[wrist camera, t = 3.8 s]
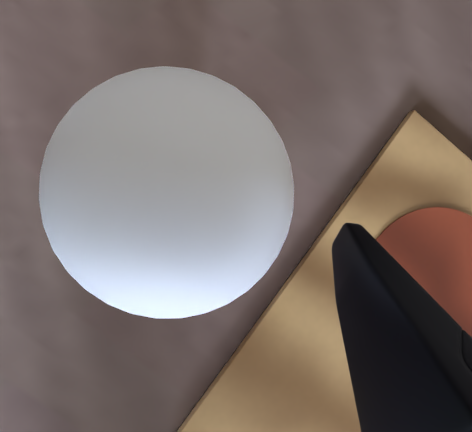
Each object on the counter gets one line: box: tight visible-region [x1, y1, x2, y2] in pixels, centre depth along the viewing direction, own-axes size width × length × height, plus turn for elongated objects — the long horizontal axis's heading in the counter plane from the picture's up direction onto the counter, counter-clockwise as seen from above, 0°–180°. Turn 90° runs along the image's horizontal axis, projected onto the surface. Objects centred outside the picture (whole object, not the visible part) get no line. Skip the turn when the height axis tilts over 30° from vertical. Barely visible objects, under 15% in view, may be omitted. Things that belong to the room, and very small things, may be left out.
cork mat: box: [177, 110, 472, 432], centre depth 19 cm, size 20×14×1 cm
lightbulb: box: [39, 66, 294, 318], centre depth 12 cm, size 6×6×11 cm
